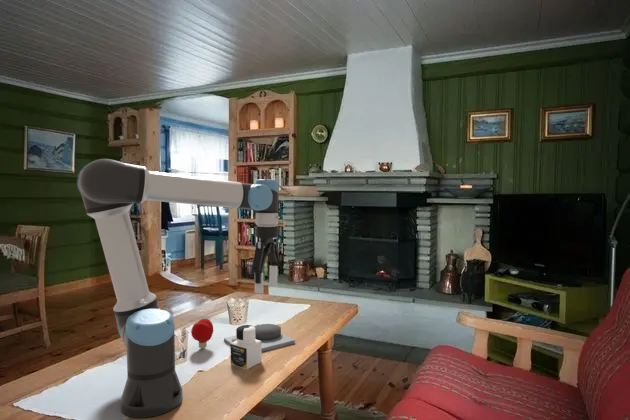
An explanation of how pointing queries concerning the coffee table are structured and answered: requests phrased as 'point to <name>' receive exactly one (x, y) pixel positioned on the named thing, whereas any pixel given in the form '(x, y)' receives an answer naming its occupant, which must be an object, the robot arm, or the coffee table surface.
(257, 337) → the stub
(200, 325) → the red toy tree
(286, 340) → the board
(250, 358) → the medicine bottle
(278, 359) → the coffee table surface
